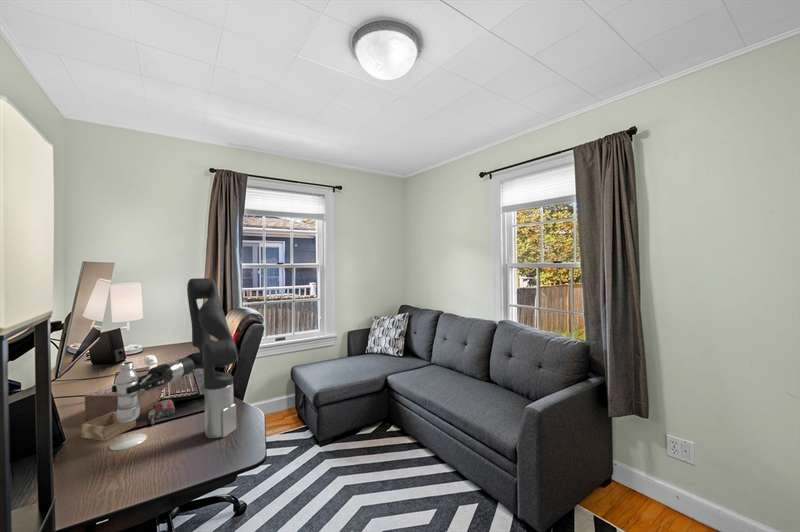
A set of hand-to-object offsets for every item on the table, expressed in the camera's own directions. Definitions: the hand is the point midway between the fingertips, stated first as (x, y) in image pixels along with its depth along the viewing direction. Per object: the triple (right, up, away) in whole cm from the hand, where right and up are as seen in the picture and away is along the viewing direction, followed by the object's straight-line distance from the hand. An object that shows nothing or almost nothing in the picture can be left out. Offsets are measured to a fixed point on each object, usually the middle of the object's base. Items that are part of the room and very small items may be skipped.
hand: (119, 390), depth 111 cm
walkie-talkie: (-3, -19, +23) cm, 30 cm away
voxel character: (-31, -19, +55) cm, 66 cm away
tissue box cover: (-23, -20, +33) cm, 44 cm away
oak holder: (-12, -19, +10) cm, 25 cm away
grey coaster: (+1, -19, +2) cm, 19 cm away
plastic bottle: (+1, -12, +3) cm, 12 cm away
